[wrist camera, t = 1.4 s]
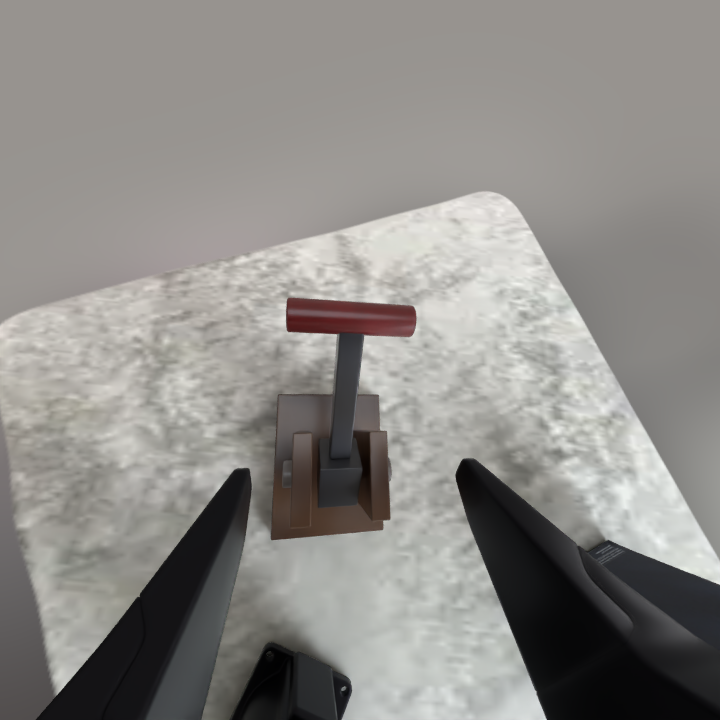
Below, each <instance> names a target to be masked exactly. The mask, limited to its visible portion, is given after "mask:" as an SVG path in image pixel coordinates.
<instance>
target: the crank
mask: <svg viewBox="0 0 720 720" xmlns="http://www.w3.org/2000/svg"><path fill="white" fill-rule="evenodd" d="M286 327H287V331H288V332H300V333H323V334H337V342H336V356H335V370H334V384H333V398H332V412H331V426H330V438H328V439H319V443H318V462H317V496H318V508H327V507H340V506H354V505H357V504H358V497H359V489H360V482H361V475H362V464H361V459H360V455H359V450H358V446H357V441H356V438H353V430H354V421H355V412H356V403H357V394H358V386H359V377H360V368H361V359H362V350H363V341H364V335H369V336H392V337H411V336H412V335H413V333H414V331H415V327H416V311H415V308H414V307H413V306H410V305H395V304H380V303H365V302H350V301H334V300H319V299H304V298H288V299H287V308H286Z"/></svg>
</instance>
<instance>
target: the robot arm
mask: <svg viewBox="0 0 720 720" xmlns="http://www.w3.org/2000/svg"><path fill="white" fill-rule="evenodd" d="M456 482H457V485H458V489H459V492H460V496H461V499H462V502H463V506H464V509H465V513H466V516H467V519H468V522H469V525H470V528H471V530H472V533H473V535H474V538H475V540H476V543H477V545H478V548H479V550H480V553H481V555H482V558H483V560H484V563H485V565H486V568H487V570H488V573H489V575H490V578H491V580H492V583H493V585H494V588H495V590H496V593H497V596H498V598H499V601H500V603H501V606H502V608H503V611H504V613H505V616H506V618H507V621H508V623H509V626H510V628H511V631H512V633H513V636H514V638H515V641H516V643H517V646H518V648H519V651H520V653H521V656H522V658H523V661H524V663H525V666H526V668H527V671H528V673H529V676H530V678H531V681H532V683H533V686H534V688H535V690H536V691H537V692H536V693H537V696H538V699H539V701H540V704H541V706H542V709H543V711H544V714H545V716H546V719H547V720H720V650H718V649H716V648H714V647H713V646H711V645H709V644H708V643H706V642H704V641H703V640H701V639H700V638H698V637H697V636H695V635H694V634H693V633H691V632H690V631H688V630H687V629H686V628H684V627H683V626H682V625H680V624H679V623H678V622H676V621H675V620H674V619H672V618H671V617H670V616H668V615H667V614H666V613H664V612H663V611H662V610H660V609H659V608H658V607H656V606H655V605H654V604H652V603H651V602H650V601H648V600H647V599H646V598H644V597H643V596H642V595H640V594H639V593H638V592H636V591H635V590H634V589H632V588H631V587H630V586H629V585H627V584H626V583H625V582H623V581H622V580H621V579H619V578H618V577H617V576H616V575H614V574H613V573H612V572H610V571H609V570H608V569H607V568H605V567H604V566H603V565H602V564H601V563H599V562H598V561H597V560H596V559H594V558H593V557H592V556H591V555H590V554H588V553H587V552H586V551H585V550H584V549H582V548H581V547H580V546H577V544H576V543H575V542H574V541H573V540H571V539H570V538H569V537H568V536H567V535H566V534H564V533H563V532H562V531H561V530H560V529H558V528H557V527H556V526H555V525H554V524H552V523H551V522H550V521H549V520H548V519H546V518H545V517H544V516H543V515H542V514H540V513H539V512H538V511H537V510H536V509H534V508H533V507H532V506H531V505H530V504H528V503H527V502H526V501H525V500H524V499H522V498H521V497H520V496H519V495H518V494H516V493H515V492H514V491H513V490H512V489H511V488H509V487H508V486H507V485H506V484H505V483H503V482H502V481H501V480H500V479H499V478H497V477H496V476H495V475H494V474H493V473H491V472H490V471H489V470H488V469H487V468H485V467H484V466H483V465H482V464H481V463H479V462H478V461H477V460H476V459H474V458H465V459H462V461H461V462H460V465H459V467H458V469H457V471H456ZM251 490H252V483H251V476H250V470H249V469H248V468H238V469H235V470H234V471H233V472H232V473H231V475H230V476H229V477H228V479H227V480H226V481H225V483H224V484H223V485H222V487H221V488H220V489H219V491H218V492H217V493H216V494H215V496H214V497H213V498H212V500H211V501H210V502H209V504H208V505H207V506H206V508H205V509H204V510H203V512H202V513H201V514H200V515H199V517H198V518H197V519H196V521H195V522H194V523H193V525H192V526H191V527H190V529H189V530H188V531H187V533H186V534H185V535H184V537H183V538H182V539H181V540H180V542H179V543H178V544H177V546H176V547H175V548H174V550H173V551H172V552H171V554H170V555H169V556H168V558H167V559H166V560H165V561H164V563H163V564H162V565H161V567H160V568H159V569H158V571H157V572H156V573H155V575H154V576H153V577H152V579H151V580H150V581H149V583H148V584H147V585H146V586H145V588H144V589H143V590H142V592H141V593H140V597H137V598H136V599H135V601H134V602H133V603H132V605H131V606H130V607H129V609H128V610H127V611H126V613H125V614H124V615H123V616H122V618H121V619H120V620H119V622H118V623H117V624H116V625H115V627H114V628H113V629H112V630H111V632H110V633H109V634H108V635H107V637H106V638H105V639H104V641H103V642H102V643H101V644H100V646H99V647H98V648H97V649H96V650H95V652H94V653H93V654H92V655H91V656H90V657H89V659H88V660H87V661H86V662H85V663H84V665H83V666H82V667H81V668H80V669H79V670H78V672H77V673H76V674H75V675H74V676H73V677H72V679H71V680H70V681H69V682H68V683H67V684H66V686H65V687H64V688H63V689H62V690H61V691H60V692H59V694H58V695H57V696H56V697H55V698H54V699H53V701H52V702H51V703H50V704H49V705H48V706H47V707H46V709H45V710H44V711H43V712H42V713H41V714H40V716H39V717H38V718H37V719H36V720H201V719H202V715H203V710H204V706H205V702H206V698H207V694H208V690H209V686H210V682H211V678H212V674H213V670H214V666H215V662H216V658H217V653H218V649H219V645H220V641H221V637H222V633H223V629H224V625H225V621H226V617H227V613H228V609H229V605H230V600H231V596H232V592H233V588H234V584H235V580H236V576H237V572H238V568H239V564H240V560H241V556H242V551H243V547H244V542H245V535H246V528H247V521H248V513H249V506H250V498H251ZM270 651H271V652H273V655H272V656H268V655H267V653H268V652H270ZM344 686H345V687H347V688H346V690H344V691H342V690H341V689H342V687H344ZM351 692H352V687H351V682H350V680H349V678H347V677H346V676H343V675H341V674H339V673H337V672H335V671H333V670H331V667H330V666H328V665H326V664H324V663H322V662H320V661H318V660H316V659H314V658H311V657H309V656H307V655H305V654H303V653H301V652H297V653H295V652H293V651H291V650H288V649H286V648H284V647H282V646H280V645H278V644H276V643H272V642H271V643H268V644H267V645H266V646H265V647H264V649H263V651H262V653H261V655H260V657H259V659H258V661H257V663H256V665H255V667H254V670H253V672H252V674H251V676H250V678H249V680H248V682H247V684H246V686H245V689H244V691H243V693H242V695H241V697H240V699H239V701H238V703H237V705H236V708H235V710H234V712H233V714H232V716H231V718H230V720H342V717H343V714H344V712H345V709H346V706H347V704H348V701H349V698H350V696H351Z"/></svg>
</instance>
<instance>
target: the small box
mask: <svg viewBox="0 0 720 720" xmlns="http://www.w3.org/2000/svg"><path fill="white" fill-rule="evenodd" d="M588 554H590V555H591V556H592V557H593V558H594V559H596V560H597V561H598V562H599V563H601V564H602V565H603V566H604V567H605V568H607V569H608V570H609V571H610V572H612V573H613V574H614V575H616V576H617V577H618V578H619V579H621V580H622V581H623V582H625V583H626V584H627V585H629V586H630V587H631V588H632V589H634V590H635V591H636V592H638V593H639V594H640V595H642V596H643V597H644V598H646V599H647V600H648V601H650V602H651V603H652V604H654V605H655V606H656V607H658V608H659V609H660V610H662V611H663V612H664V613H666V614H667V615H668V616H670V617H671V618H672V619H674V620H675V621H676V622H678V623H679V624H680V625H682V626H683V627H684V628H686V629H687V630H688V631H690V632H691V633H693V634H694V635H695V636H697V637H698V638H700V639H701V640H703V641H704V642H706V643H708V644H709V645H711V646H713V647H714V648H716V649H718V650H720V585H719V584H716V583H714V582H711V581H709V580H707V579H704V578H701V577H698V576H696V575H693V574H691V573H688V572H685V571H683V570H680V569H678V568H675V567H672V566H670V565H667V564H665V563H663V562H660V561H658V560H655V559H652V558H650V557H647V556H645V555H642V554H640V553H637V552H634V551H632V550H630V549H628V548H625V547H623V546H620V545H618V544H616V543H614V542H612V541H610V540H608V541H606V542H604V543H602V544H601V545H600V546H597V547H596V548H594V549H593V550H591V551H589V552H588Z"/></svg>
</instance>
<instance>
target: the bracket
mask: <svg viewBox="0 0 720 720" xmlns="http://www.w3.org/2000/svg"><path fill="white" fill-rule="evenodd" d="M332 398H333V395H317V394H279V395H278V404H277V424H276V445H275V465H274V485H273V506H272V526H271V540H280V539H291V538H301V537H312V536H323V535H334V534H345V533H356V532H366V531H377V530H383V521H384V520H390V496H389V481H390V480H391V475H392V469H391V463H390V459H389V458H388V447H387V431H380V418H379V395H357V403H356V412H355V421H354V430H353V438H356V441H357V446H358V450H359V455H360V459H361V464H362V475H361V482H360V489H359V497H358V504H357V505H354V506H340V507H327V508H318V496H317V462H318V443H319V439H328V438H330V426H331V412H332Z"/></svg>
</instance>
